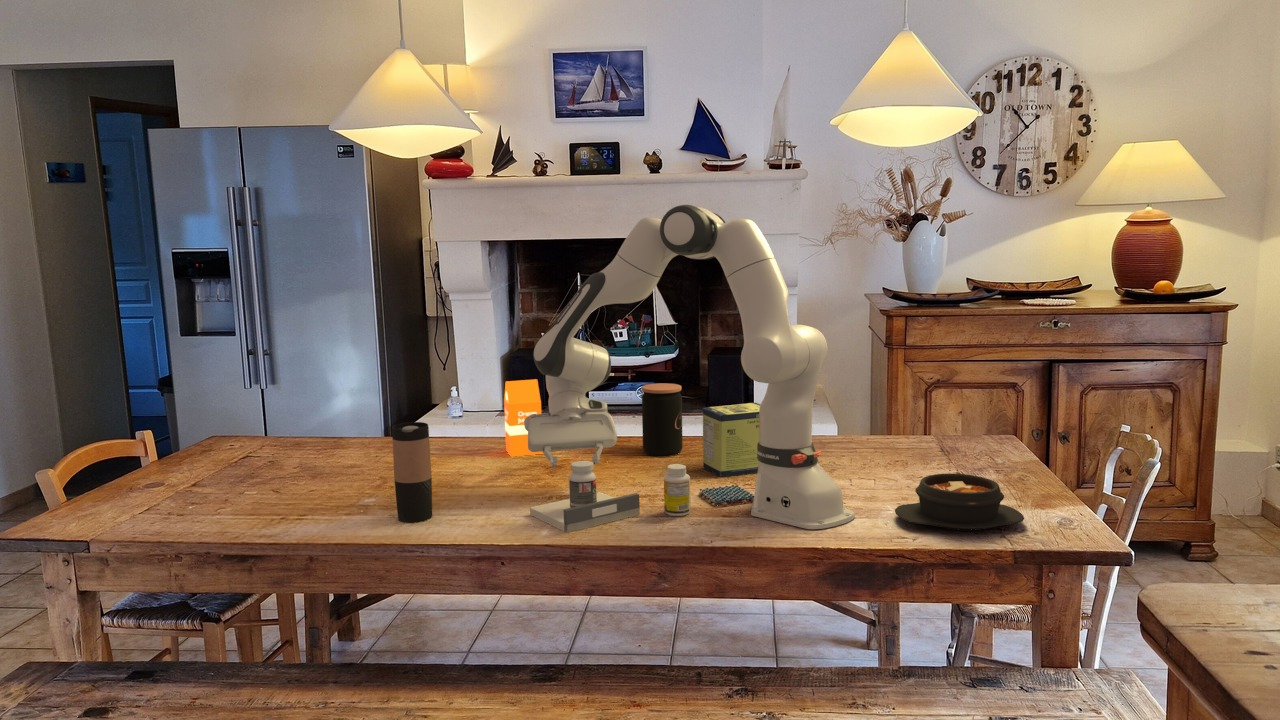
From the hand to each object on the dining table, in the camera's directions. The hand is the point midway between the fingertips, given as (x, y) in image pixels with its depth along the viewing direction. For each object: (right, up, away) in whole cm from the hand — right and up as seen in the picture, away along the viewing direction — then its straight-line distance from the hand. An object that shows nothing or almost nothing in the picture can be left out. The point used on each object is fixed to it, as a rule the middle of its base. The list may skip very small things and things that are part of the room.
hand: (575, 464), depth 206 cm
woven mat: (+34, -9, +1) cm, 35 cm away
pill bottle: (+2, -9, -10) cm, 13 cm away
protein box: (+39, -4, +26) cm, 47 cm away
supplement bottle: (+22, -10, -8) cm, 26 cm away
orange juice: (-17, -2, +47) cm, 50 cm away
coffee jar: (+20, -2, +44) cm, 49 cm away
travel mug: (-34, -11, -8) cm, 36 cm away
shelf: (+3, -10, -8) cm, 13 cm away
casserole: (+79, -10, -18) cm, 81 cm away
